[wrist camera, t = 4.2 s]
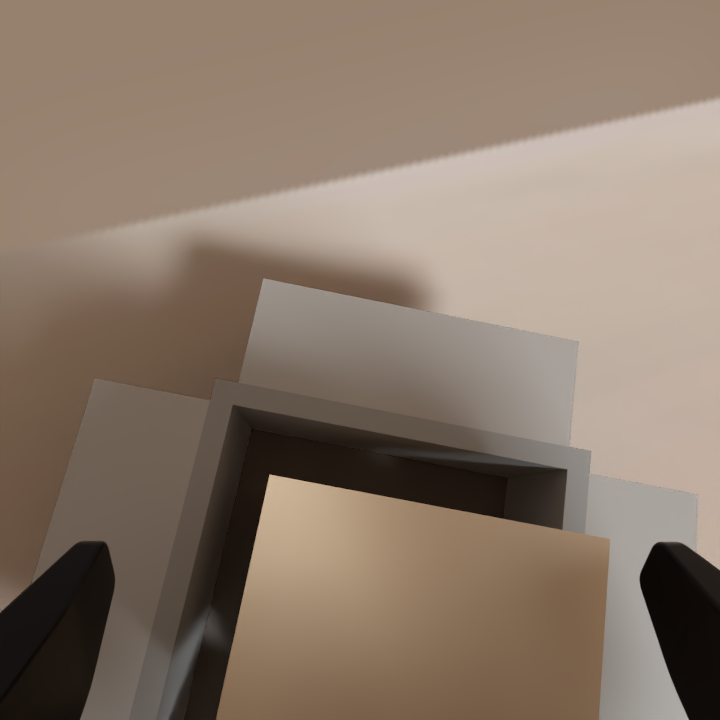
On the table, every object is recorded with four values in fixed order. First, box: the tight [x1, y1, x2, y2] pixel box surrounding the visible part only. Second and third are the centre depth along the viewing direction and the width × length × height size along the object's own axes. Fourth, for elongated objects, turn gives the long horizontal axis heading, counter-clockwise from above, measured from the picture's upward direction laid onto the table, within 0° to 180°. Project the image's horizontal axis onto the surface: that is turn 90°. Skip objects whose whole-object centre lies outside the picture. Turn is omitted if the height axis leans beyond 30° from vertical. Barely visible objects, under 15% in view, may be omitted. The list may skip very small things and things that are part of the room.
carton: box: [31, 278, 698, 720], centre depth 14 cm, size 14×14×4 cm
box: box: [216, 475, 610, 720], centre depth 11 cm, size 4×4×9 cm
